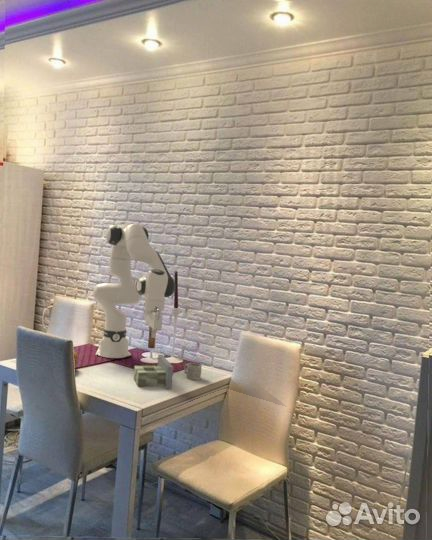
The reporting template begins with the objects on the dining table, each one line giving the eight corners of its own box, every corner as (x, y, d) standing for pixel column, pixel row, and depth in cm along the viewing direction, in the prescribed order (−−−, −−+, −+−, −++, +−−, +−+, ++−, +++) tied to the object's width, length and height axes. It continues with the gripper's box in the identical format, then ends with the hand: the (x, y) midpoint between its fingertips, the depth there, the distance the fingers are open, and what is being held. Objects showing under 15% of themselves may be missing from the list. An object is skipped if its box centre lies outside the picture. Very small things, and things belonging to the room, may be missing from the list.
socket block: (133, 378, 223) (134, 365, 222) (158, 378, 226) (159, 365, 226) (137, 386, 211) (138, 373, 211) (164, 386, 215) (165, 372, 215)
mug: (203, 379, 232) (204, 365, 231) (193, 381, 227) (194, 367, 226) (189, 373, 238) (190, 360, 238) (179, 375, 234) (180, 362, 233)
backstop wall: (156, 375, 231) (158, 354, 231) (160, 375, 232) (162, 354, 231) (167, 389, 210) (168, 367, 210) (171, 389, 211) (173, 367, 211)
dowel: (147, 346, 219) (149, 324, 218) (153, 346, 220) (155, 325, 219) (148, 348, 216) (150, 326, 215) (155, 348, 217) (156, 326, 216)
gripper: (166, 309, 208) (164, 341, 209) (156, 302, 227) (154, 332, 228) (152, 309, 206) (149, 341, 207) (143, 302, 225) (141, 331, 226)
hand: (152, 336), depth 218 cm, fingers closed on dowel, 3 cm apart
